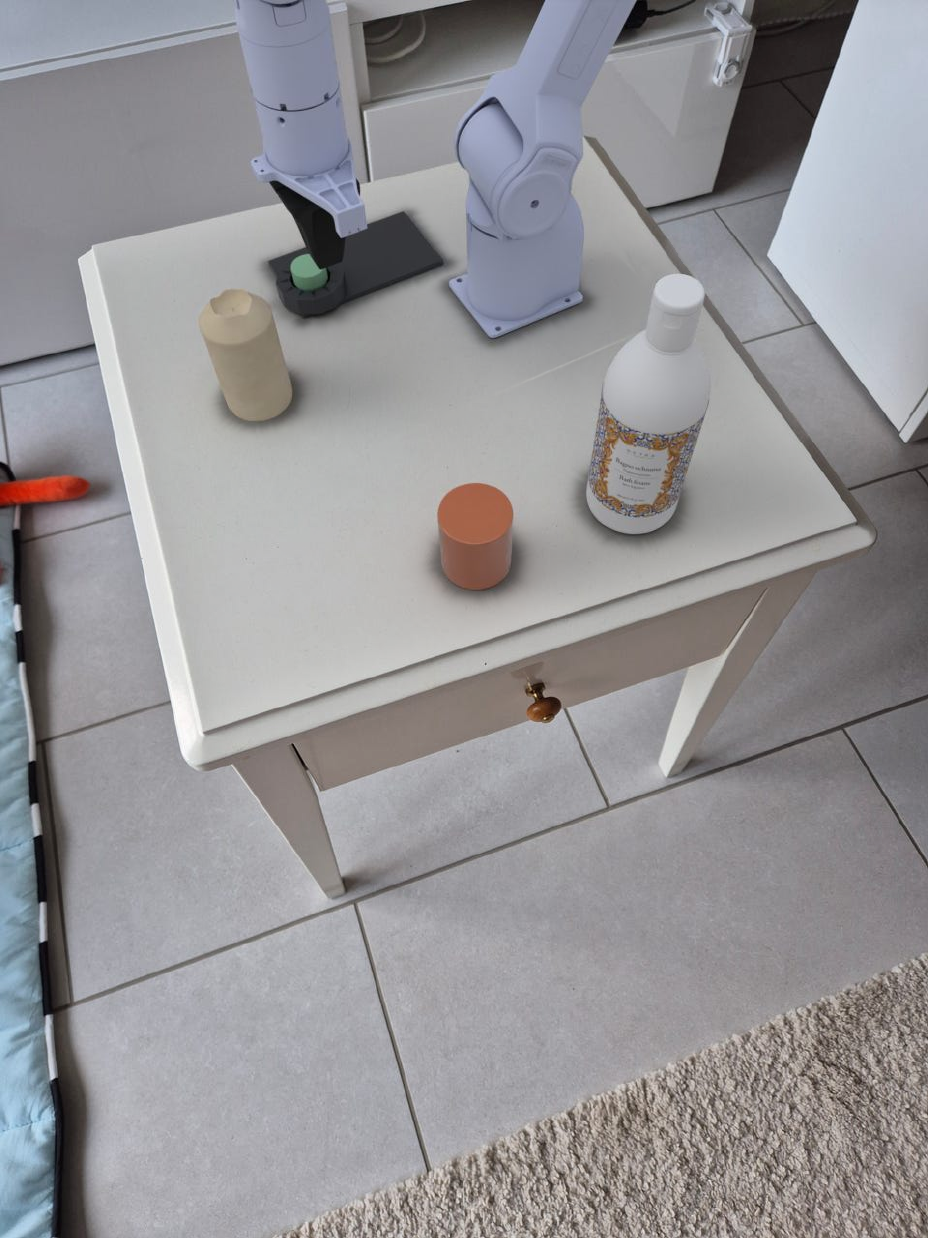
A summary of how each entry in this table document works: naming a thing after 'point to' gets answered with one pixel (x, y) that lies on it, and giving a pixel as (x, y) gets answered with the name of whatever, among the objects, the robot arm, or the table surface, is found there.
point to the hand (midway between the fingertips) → (328, 260)
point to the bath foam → (651, 414)
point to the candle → (246, 354)
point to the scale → (360, 265)
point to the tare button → (307, 274)
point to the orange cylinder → (475, 535)
